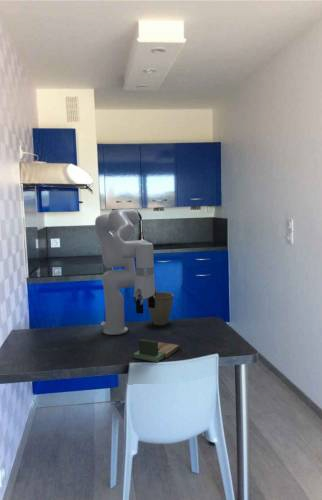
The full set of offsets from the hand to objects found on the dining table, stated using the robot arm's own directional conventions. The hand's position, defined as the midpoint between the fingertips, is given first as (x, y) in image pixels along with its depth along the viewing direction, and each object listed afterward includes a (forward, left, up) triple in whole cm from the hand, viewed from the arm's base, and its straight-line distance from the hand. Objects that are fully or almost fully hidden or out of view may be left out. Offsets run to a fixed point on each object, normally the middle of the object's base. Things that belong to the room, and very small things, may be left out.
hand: (145, 310), depth 194 cm
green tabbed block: (+3, -2, -20) cm, 20 cm away
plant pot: (-18, +44, -20) cm, 52 cm away
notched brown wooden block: (+3, +6, -20) cm, 21 cm away
